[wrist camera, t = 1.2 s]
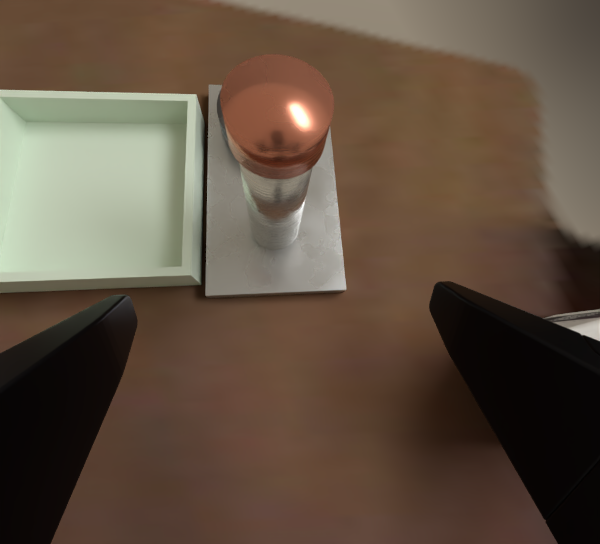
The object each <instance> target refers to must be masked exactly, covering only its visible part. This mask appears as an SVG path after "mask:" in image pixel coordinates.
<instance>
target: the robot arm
mask: <svg viewBox="0 0 600 544" xmlns="http://www.w3.org/2000/svg"><path fill="white" fill-rule="evenodd" d="M429 309H430V313H431V315H432V317H433V319H434V322H435V324H436V326H437V328H438V331H439V333H440V335H441V338H442V340H443V342H444V344H445V347H446V349H447V351H448V353H449V355H450V356H451V358H452V360H453V362H454V364H455V365H456V367H457V369H458V371H459V372H460V374H461V376H462V378H463V379H464V381H465V383H466V384H467V386H468V388H469V390H470V391H471V393H472V395H473V397H474V398H475V400H476V402H477V404H478V405H479V407H480V409H481V410H482V412H483V414H484V416H485V417H486V419H487V421H488V423H489V424H490V426H491V428H492V430H493V431H494V433H495V435H496V437H497V438H498V440H499V442H500V443H501V445H502V447H503V449H504V450H505V452H506V454H507V456H508V457H509V459H510V461H511V463H512V464H513V466H514V468H515V470H516V471H517V473H518V475H519V476H520V478H521V480H522V482H523V483H524V485H525V487H526V489H527V490H528V492H529V494H530V496H531V497H532V499H533V501H534V503H535V504H536V506H537V508H538V509H539V511H540V513H541V515H542V516H543V518H544V519H545V520H546V524H547V526H548V527H549V529H550V531H551V532H552V534H553V536H554V538H555V539H556V541H557V543H558V544H600V341H598V340H596V339H593V338H591V337H588V336H586V335H581V334H580V333H578V332H576V331H573V330H571V329H568V328H566V327H563V326H561V325H558V324H556V323H553V322H551V321H548V320H546V319H543V318H541V317H538V316H536V315H533V314H531V313H528V312H526V311H523V310H521V309H518V308H516V307H513V306H511V305H508V304H506V303H503V302H501V301H498V300H496V299H493V298H491V297H488V296H486V295H483V294H481V293H478V292H476V291H473V290H471V289H468V288H466V287H463V286H461V285H458V284H456V283H453V282H450V281H445V282H437V283H436V284H435V286H434V289H433V293H432V296H431V300H430V304H429ZM136 328H137V316H136V313H135V310H134V307H133V303H132V300H131V298H130V297H129V296H128V295H112V296H110V297H108V298H106V299H104V300H102V301H100V302H98V303H96V304H94V305H92V306H91V307H89V308H87V309H85V310H83V311H81V312H79V313H77V314H75V315H73V316H71V317H69V318H67V319H66V320H64V321H62V322H60V323H58V324H56V325H54V326H52V327H50V328H48V329H46V330H44V331H42V332H40V333H39V334H37V335H35V336H33V337H31V338H29V339H27V340H25V341H23V342H21V343H19V344H17V345H15V346H13V347H12V348H10V349H8V350H6V351H4V352H2V353H0V544H51V541H52V539H53V537H54V534H55V532H56V530H57V527H58V525H59V523H60V520H61V518H62V516H63V513H64V511H65V509H66V506H67V504H68V502H69V499H70V497H71V495H72V492H73V490H74V488H75V485H76V483H77V481H78V478H79V476H80V474H81V471H82V469H83V467H84V464H85V462H86V460H87V457H88V455H89V453H90V450H91V448H92V446H93V443H94V441H95V439H96V436H97V434H98V432H99V429H100V427H101V425H102V422H103V420H104V417H105V415H106V413H107V410H108V408H109V406H110V403H111V401H112V399H113V396H114V394H115V392H116V389H117V387H118V385H119V382H120V380H121V377H122V375H123V372H124V369H125V366H126V363H127V359H128V356H129V352H130V349H131V346H132V342H133V339H134V335H135V332H136Z"/></svg>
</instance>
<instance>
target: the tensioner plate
mask: <svg viewBox="0 0 600 544" xmlns="http://www.w3.org/2000/svg"><path fill="white" fill-rule="evenodd" d="M221 88H222V85H209V113H208V173H207V232H206V291H205V296H206V297H207V298H225V297H247V296H270V295H293V294H316V293H339V292H344V291H345V290H346V282H345V272H344V262H343V252H342V242H341V232H340V222H339V212H338V202H337V192H336V182H335V172H334V162H333V152H332V142H331V132H330V127H329V131H328V135H327V139H326V143H325V147H324V150H323V153H322V155H321V157H320V159H319V160H318V162H317V163H316V164H315V165H314V166H313V168H312V173H311V177H310V182H309V186H308V191H307V195H306V200H305V204H304V208H303V213H302V217H301V222H300V226H299V231H298V235H297V237H296V239H295V240H294V242H293V243H292V244H291V245H289V246H288V247H286V248H283V249H280V250H270V249H266V248H264V247H262V246H260V245H259V244H258V243H257V242H256V241H255V240H254V238H253V236H252V234H251V229H250V223H249V217H248V211H247V206H246V200H245V194H244V188H243V182H242V177H241V171H240V165H239V162H238V161H237V160H236V158H235V157H234V155H233V154H232V152H231V149H230V147H229V143H228V138H227V133H226V128H225V123H224V119H223V114H222V109H221V104H220V93H221Z"/></svg>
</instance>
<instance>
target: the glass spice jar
mask: <svg viewBox="0 0 600 544" xmlns="http://www.w3.org/2000/svg"><path fill="white" fill-rule="evenodd" d="M220 104H221V109H222V114H223V119H224V123H225V128H226V133H227V138H228V143H229V147H230V149H231V152H232V154H233V155H234V157H235V158H236V160H237V161H238V162H239V165H240V171H241V177H242V182H243V188H244V194H245V200H246V206H247V211H248V217H249V223H250V229H251V234H252V236H253V238H254V240H255V241H256V242H257V243H258V244H259V245H260V246H262V247H264V248H266V249H270V250H280V249H283V248H286V247H288V246H289V245H291V244H292V243H293V242H294V240H295V239H296V237H297V235H298V231H299V226H300V222H301V217H302V213H303V208H304V204H305V200H306V195H307V191H308V186H309V182H310V177H311V173H312V168H313V166H314V165H315V164H316V163H317V162H318V160H319V159H320V157H321V155H322V153H323V150H324V147H325V143H326V139H327V135H328V131H329V127H330V123H331V120H332V116H333V111H334V98H333V94H332V91H331V88H330V86H329V84H328V82H327V81H326V79H325V78H324V77H323V76H322V75H321V73H320V72H318V71H317V70H316V69H315V68H314V67H312V66H311V65H309V64H308V63H306V62H304V61H302V60H299V59H297V58H294V57H290V56H286V55H277V54H268V55H261V56H256V57H253V58H250V59H248V60H246V61H244V62H242V63H240V64H239V65H237V66H236V67H235V68H234V69H233V70H232V71H231V72H230V73H229V74H228V75H227V77H226V79H225V80H224V82H223V85H222V88H221V93H220Z"/></svg>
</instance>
